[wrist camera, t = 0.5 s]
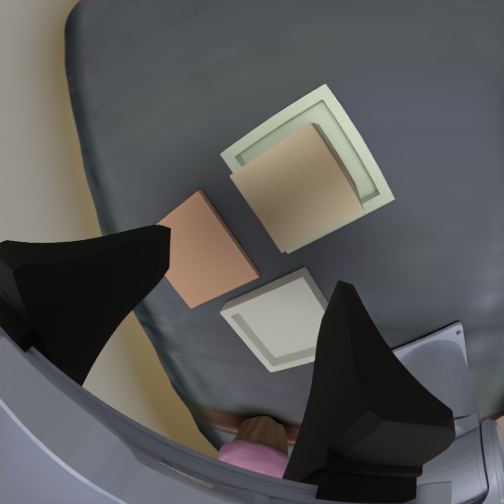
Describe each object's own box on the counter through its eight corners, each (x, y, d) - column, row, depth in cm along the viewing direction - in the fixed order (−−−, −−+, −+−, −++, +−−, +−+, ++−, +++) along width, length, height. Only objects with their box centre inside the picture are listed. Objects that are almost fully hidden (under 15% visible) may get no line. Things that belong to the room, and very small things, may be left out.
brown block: (355, 183, 16) (364, 211, 11) (297, 214, 19) (280, 254, 13) (318, 123, 15) (310, 122, 10) (261, 160, 18) (227, 177, 12)
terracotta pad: (260, 274, 22) (259, 277, 21) (193, 305, 26) (190, 308, 25) (201, 189, 20) (198, 190, 20) (141, 237, 24) (138, 239, 23)
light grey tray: (349, 338, 22) (348, 350, 21) (274, 361, 26) (270, 372, 25) (305, 266, 20) (302, 276, 19) (226, 302, 24) (219, 312, 23)
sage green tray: (390, 193, 16) (394, 199, 15) (291, 244, 20) (287, 254, 19) (326, 87, 15) (325, 83, 13) (228, 151, 18) (220, 154, 17)
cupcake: (224, 413, 34) (197, 471, 25) (263, 398, 30) (237, 469, 21) (270, 440, 35) (251, 494, 26) (313, 428, 30) (297, 493, 22)
